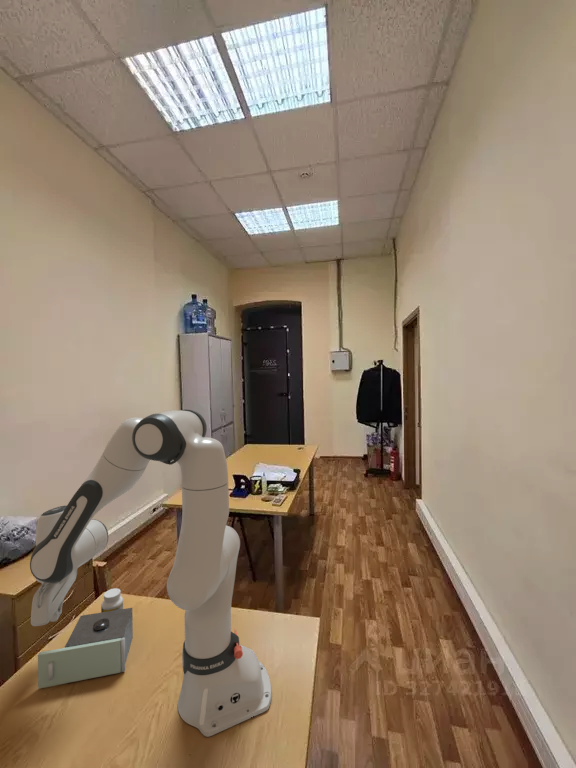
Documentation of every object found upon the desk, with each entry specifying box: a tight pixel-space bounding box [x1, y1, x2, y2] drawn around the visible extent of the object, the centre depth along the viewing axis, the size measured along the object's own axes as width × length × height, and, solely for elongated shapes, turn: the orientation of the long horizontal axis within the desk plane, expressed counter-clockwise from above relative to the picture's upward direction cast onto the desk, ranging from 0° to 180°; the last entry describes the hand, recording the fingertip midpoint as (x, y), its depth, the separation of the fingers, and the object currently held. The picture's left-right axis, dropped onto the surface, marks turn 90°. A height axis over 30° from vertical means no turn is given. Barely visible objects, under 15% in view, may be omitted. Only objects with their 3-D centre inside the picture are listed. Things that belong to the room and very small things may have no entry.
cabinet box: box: [64, 607, 134, 665], centre depth 95 cm, size 14×12×10 cm
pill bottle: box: [100, 587, 124, 613], centre depth 107 cm, size 6×6×11 cm
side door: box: [37, 637, 126, 690], centre depth 87 cm, size 20×2×8 cm, turn 104°
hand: (55, 617), depth 91 cm, fingers closed
